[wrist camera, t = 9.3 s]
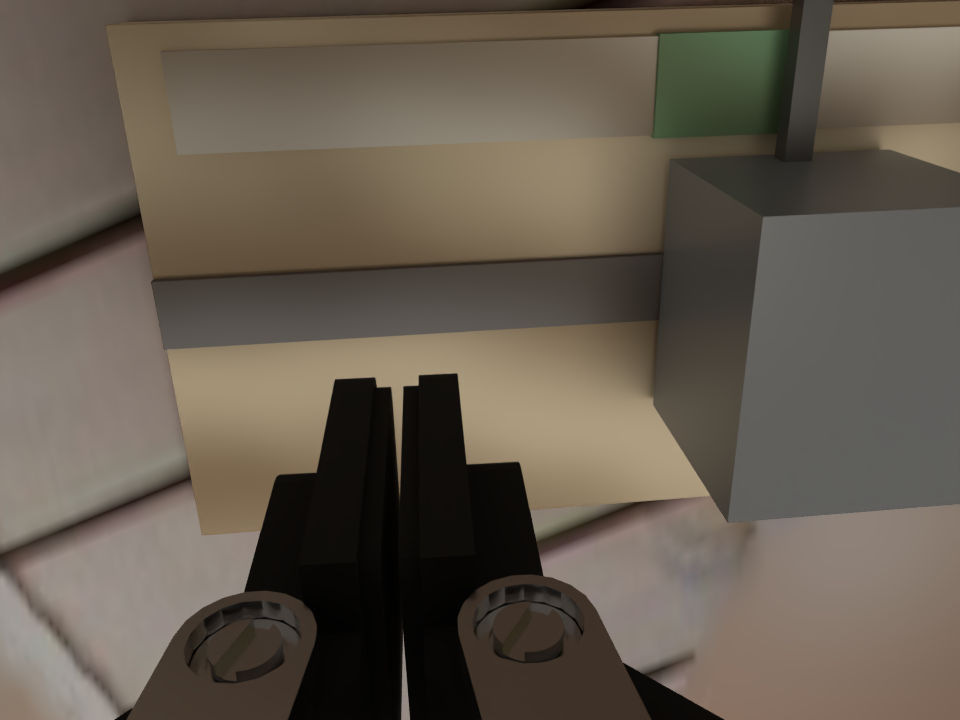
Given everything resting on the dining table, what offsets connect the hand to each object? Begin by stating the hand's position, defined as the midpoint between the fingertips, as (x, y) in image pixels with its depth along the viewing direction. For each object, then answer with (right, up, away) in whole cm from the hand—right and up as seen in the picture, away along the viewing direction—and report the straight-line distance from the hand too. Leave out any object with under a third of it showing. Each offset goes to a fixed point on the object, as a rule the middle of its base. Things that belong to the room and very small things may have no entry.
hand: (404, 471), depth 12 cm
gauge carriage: (+9, +5, +8) cm, 12 cm away
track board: (+6, +4, +10) cm, 12 cm away
